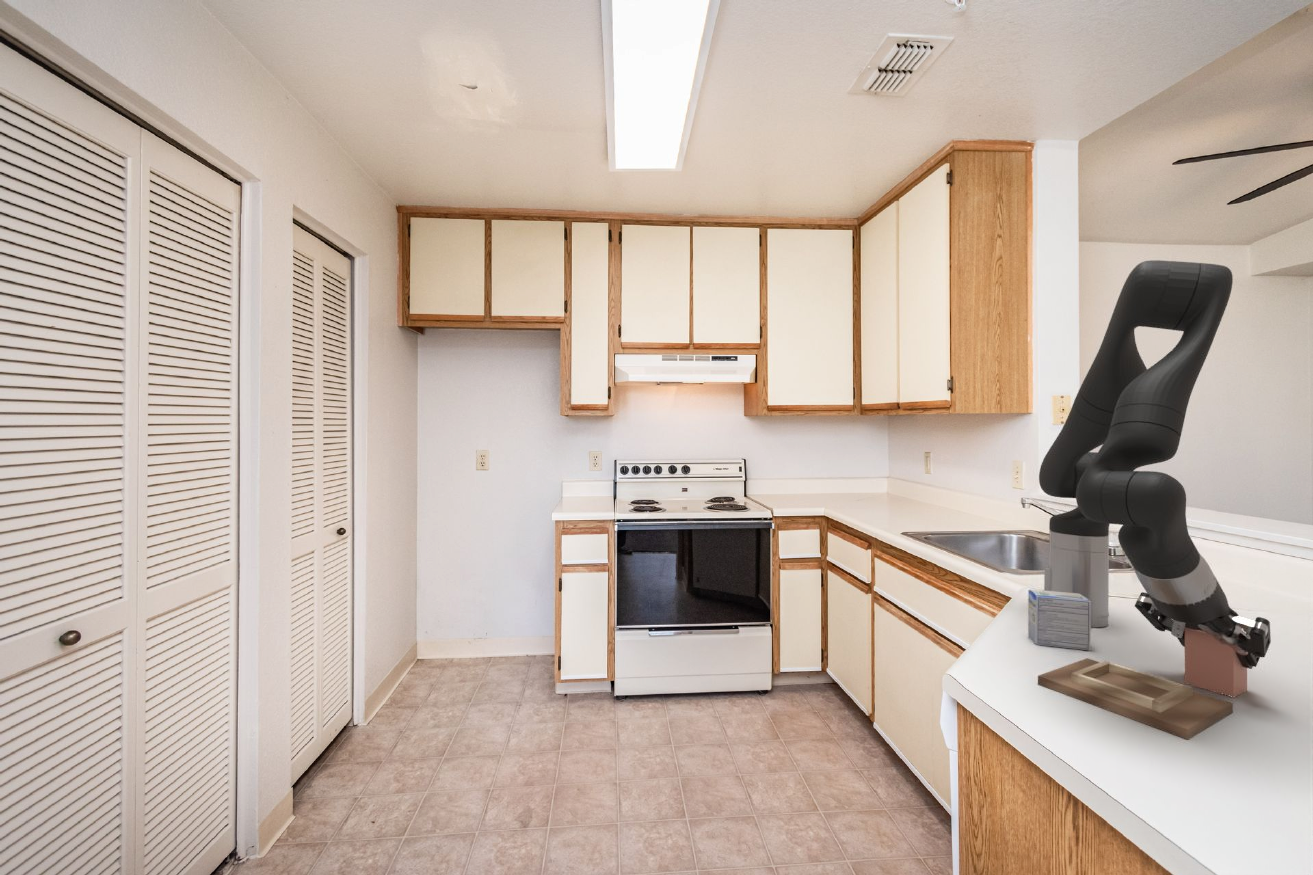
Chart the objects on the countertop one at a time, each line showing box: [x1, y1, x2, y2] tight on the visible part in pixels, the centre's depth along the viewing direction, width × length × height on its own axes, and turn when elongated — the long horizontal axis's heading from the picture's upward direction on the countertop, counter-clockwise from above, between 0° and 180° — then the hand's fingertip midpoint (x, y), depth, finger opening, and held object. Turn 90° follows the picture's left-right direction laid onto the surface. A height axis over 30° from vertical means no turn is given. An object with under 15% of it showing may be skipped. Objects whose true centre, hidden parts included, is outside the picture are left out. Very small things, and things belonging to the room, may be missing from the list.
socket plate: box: [1037, 658, 1234, 741], centre depth 73 cm, size 16×14×2 cm
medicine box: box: [1027, 589, 1092, 651], centre depth 92 cm, size 8×4×9 cm, turn 71°
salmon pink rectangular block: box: [1184, 627, 1248, 698], centre depth 76 cm, size 5×5×8 cm
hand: (1221, 654), depth 77 cm, fingers closed on salmon pink rectangular block, 5 cm apart
